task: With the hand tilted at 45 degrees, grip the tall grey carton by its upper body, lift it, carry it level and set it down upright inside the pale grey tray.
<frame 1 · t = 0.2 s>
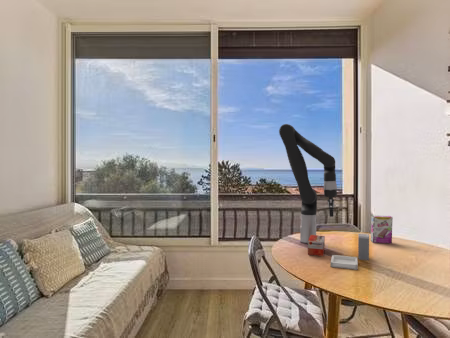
hand: (331, 215, 199), 17 cm above the table, tool pointing down, fingers open, 8 cm apart
tall grey carton: (363, 258, 171), on the table
candy bar box: (381, 242, 202), on the table
medicine box: (316, 252, 183), on the table
tray: (344, 264, 161), on the table
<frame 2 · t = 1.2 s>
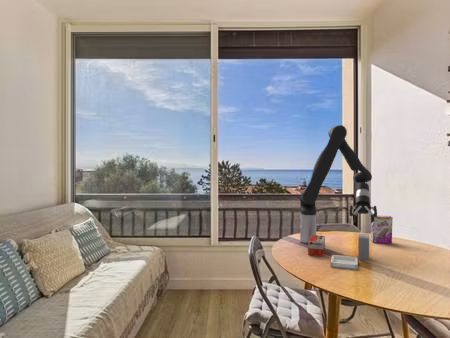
hand: (363, 221, 182), 17 cm above the table, tool tilted 45°, fingers open, 8 cm apart
nothing on the table moved.
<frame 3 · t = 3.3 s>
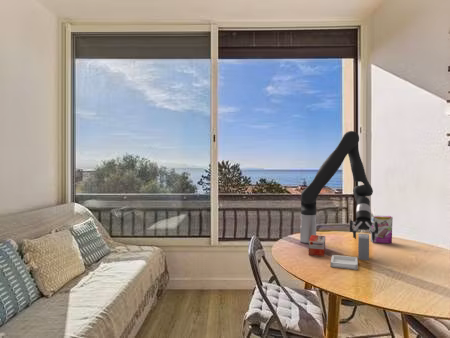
hand: (363, 238, 174), 9 cm above the table, tool tilted 45°, fingers open, 8 cm apart
nothing on the table moved.
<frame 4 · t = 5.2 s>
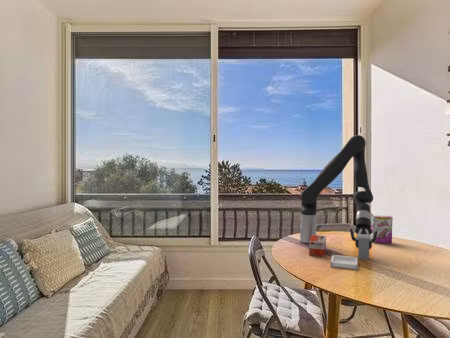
hand: (363, 247, 170), 6 cm above the table, tool tilted 45°, fingers closed on tall grey carton, 5 cm apart
tall grey carton: (363, 258, 171), on the table, touching gripper
everything else where it was.
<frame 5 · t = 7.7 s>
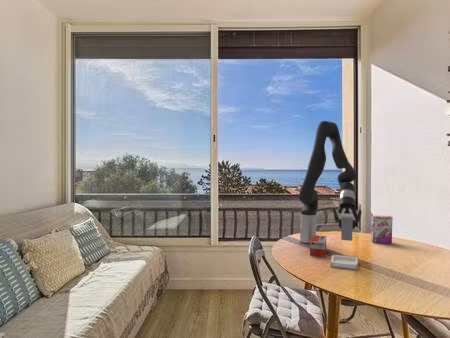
hand: (346, 227, 160), 18 cm above the table, tool tilted 45°, fingers closed on tall grey carton, 5 cm apart
tall grey carton: (346, 238, 162), point 12 cm above the table, touching gripper
when the fingers open (8 cm above the table, at t = 10.3 s): tall grey carton drops 1 cm, resting on tray.
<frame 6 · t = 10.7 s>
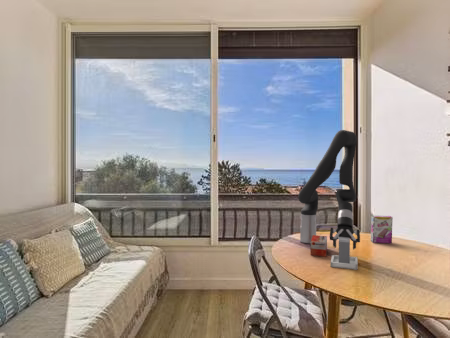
hand: (344, 247, 160), 8 cm above the table, tool tilted 45°, fingers open, 8 cm apart
tall grey carton: (344, 262, 162), point 1 cm above the table, touching tray
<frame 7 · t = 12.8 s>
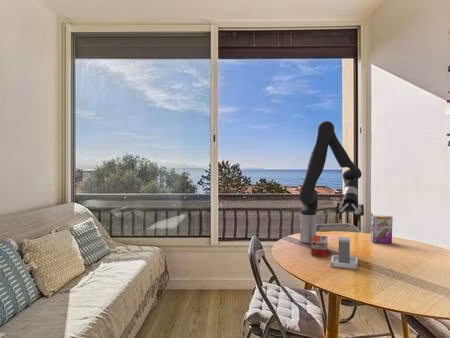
hand: (349, 220, 176), 19 cm above the table, tool tilted 45°, fingers open, 8 cm apart
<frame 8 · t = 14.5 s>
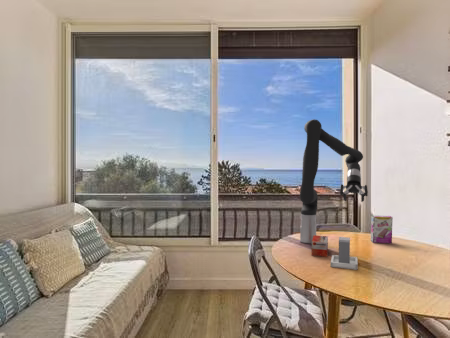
hand: (353, 200, 180), 29 cm above the table, tool tilted 45°, fingers open, 8 cm apart
at the end: tall grey carton 0.1 cm from the tray (horizontally); tall grey carton tilted 0°; the gripper is holding nothing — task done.
